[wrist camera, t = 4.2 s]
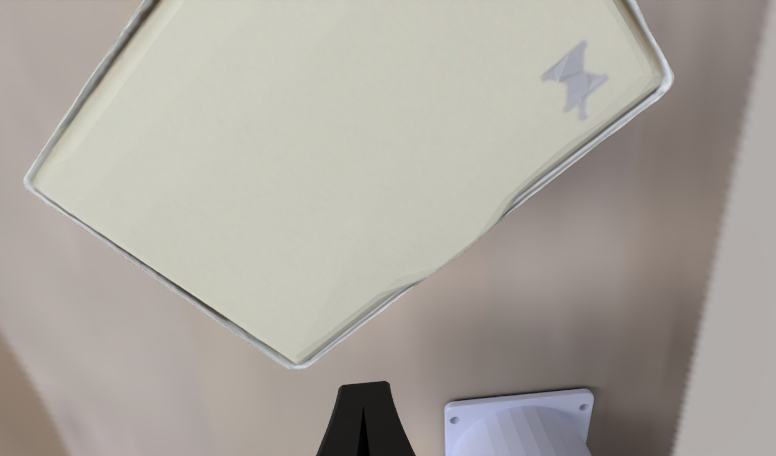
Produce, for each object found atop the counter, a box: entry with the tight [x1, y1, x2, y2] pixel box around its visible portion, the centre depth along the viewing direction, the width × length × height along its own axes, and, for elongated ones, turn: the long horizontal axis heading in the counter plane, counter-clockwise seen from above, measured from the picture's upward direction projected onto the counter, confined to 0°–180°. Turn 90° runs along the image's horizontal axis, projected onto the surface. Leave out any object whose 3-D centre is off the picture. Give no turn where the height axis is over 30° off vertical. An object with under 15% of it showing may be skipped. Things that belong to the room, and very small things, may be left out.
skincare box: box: [24, 0, 674, 370], centre depth 10 cm, size 6×4×12 cm
